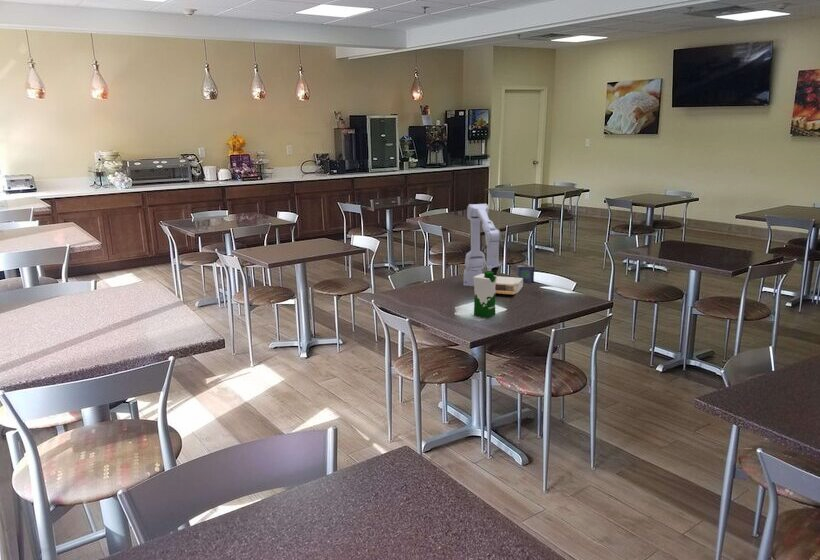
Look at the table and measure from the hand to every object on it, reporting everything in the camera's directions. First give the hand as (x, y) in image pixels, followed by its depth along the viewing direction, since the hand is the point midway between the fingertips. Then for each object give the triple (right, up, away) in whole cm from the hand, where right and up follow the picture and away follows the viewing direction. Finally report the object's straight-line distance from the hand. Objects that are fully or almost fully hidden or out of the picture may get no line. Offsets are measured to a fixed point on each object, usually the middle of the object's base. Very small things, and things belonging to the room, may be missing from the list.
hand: (492, 282), depth 292 cm
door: (+4, -5, +11) cm, 13 cm away
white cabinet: (+7, -4, +19) cm, 21 cm away
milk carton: (-7, -15, -22) cm, 28 cm away
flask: (+22, 0, +32) cm, 39 cm away
